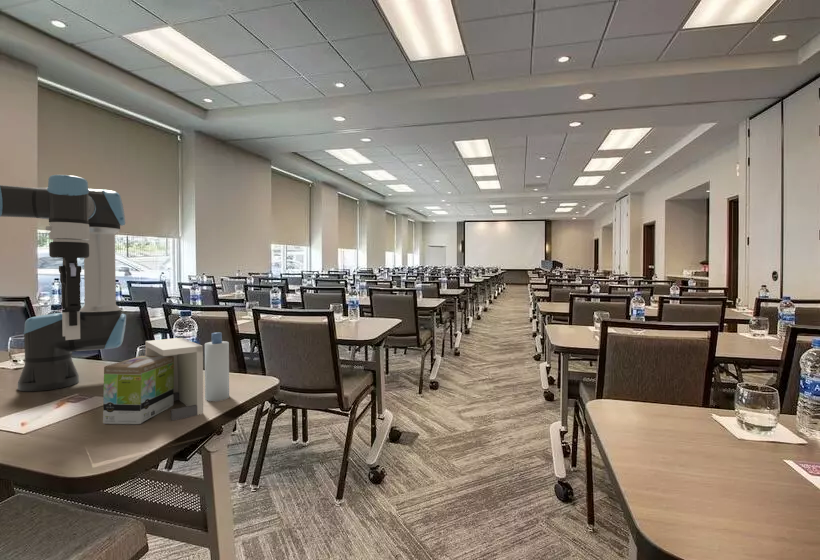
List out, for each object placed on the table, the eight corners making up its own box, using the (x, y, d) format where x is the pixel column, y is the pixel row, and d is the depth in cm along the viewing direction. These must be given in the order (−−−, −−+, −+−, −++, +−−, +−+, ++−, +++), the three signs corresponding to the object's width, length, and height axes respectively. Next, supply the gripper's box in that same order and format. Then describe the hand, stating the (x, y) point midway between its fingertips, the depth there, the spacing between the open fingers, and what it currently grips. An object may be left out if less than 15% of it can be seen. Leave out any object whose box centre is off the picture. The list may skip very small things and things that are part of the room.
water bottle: (202, 399, 128) (201, 333, 128) (224, 394, 133) (223, 330, 133) (209, 404, 124) (209, 335, 123) (232, 399, 128) (232, 333, 128)
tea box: (142, 425, 107) (141, 366, 106) (101, 425, 107) (101, 366, 106) (175, 406, 122) (174, 354, 121) (139, 406, 122) (139, 354, 121)
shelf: (146, 405, 122) (145, 341, 122) (182, 398, 129) (181, 337, 129) (163, 422, 109) (163, 350, 108) (203, 413, 115) (202, 345, 115)
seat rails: (154, 404, 123) (154, 395, 123) (177, 400, 127) (177, 391, 127) (172, 420, 110) (172, 410, 110) (197, 415, 114) (197, 405, 114)
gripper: (46, 241, 106) (48, 334, 107) (52, 239, 93) (54, 345, 94) (83, 243, 112) (85, 331, 112) (94, 240, 98) (96, 341, 99)
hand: (71, 337), depth 103 cm, fingers open, 6 cm apart
